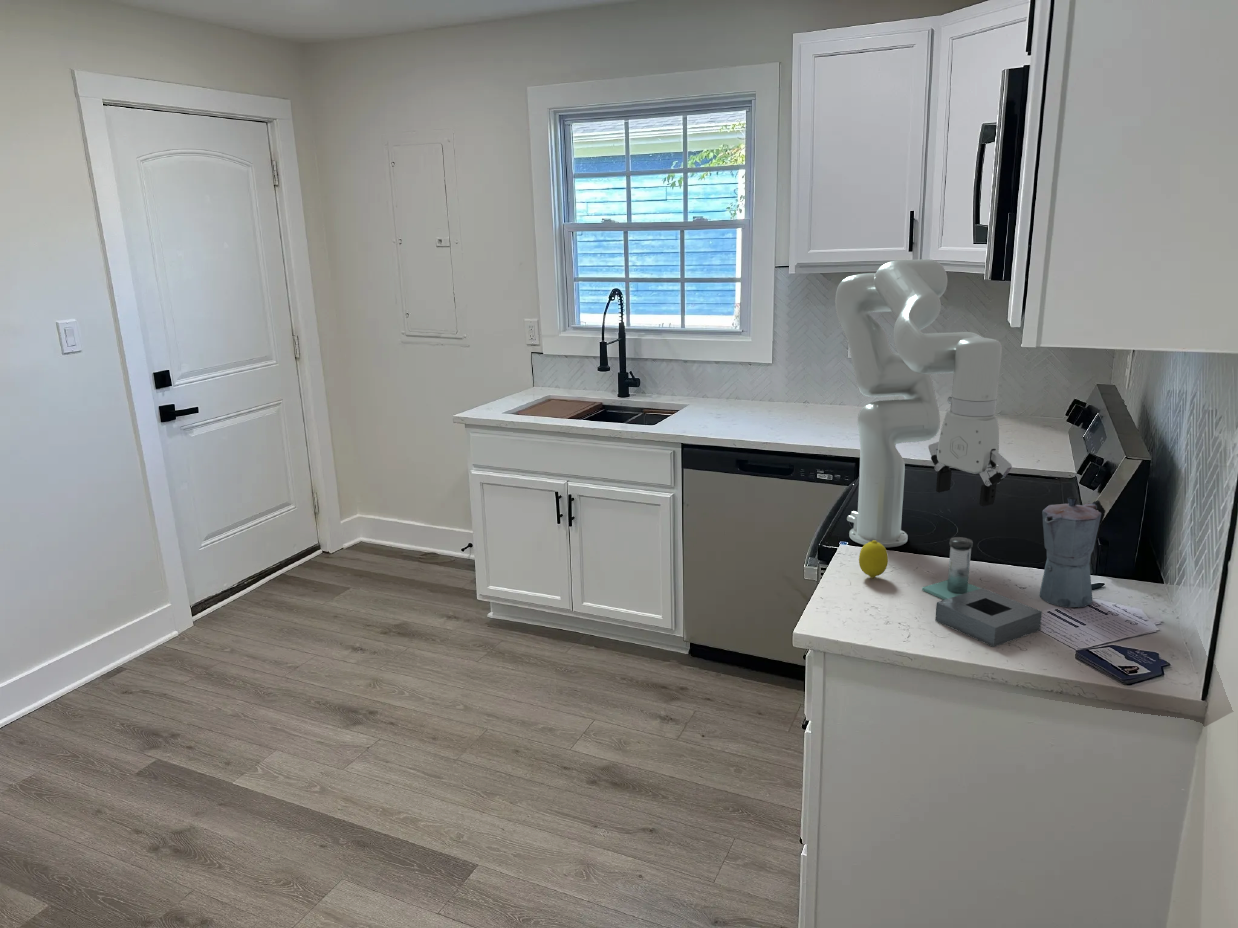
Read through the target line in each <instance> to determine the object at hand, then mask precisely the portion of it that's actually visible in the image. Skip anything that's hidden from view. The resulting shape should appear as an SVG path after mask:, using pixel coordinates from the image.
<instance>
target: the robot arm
mask: <svg viewBox="0 0 1238 928" xmlns="http://www.w3.org/2000/svg"><path fill="white" fill-rule="evenodd" d="M947 286H948V274H947V271H946V269H945V267H944V266H943V265H942V264H941V263H940V262H939V261H937V260H934V259H921V258H920V259H896V260H891V261H888V262H886V263H884V264H883V265H881V266H880V267H879V268H878V269H877V270H876V272H872V273H871V272H870V273H858V274H853V275H850V276H847V277H845V278H844V279H842V281H840V282H839V284H838V285H837V288H836V292H835V298H834V299H835V303H834V304H835V312H836V317H837V319H838V322H839V325H840V327H841V329H842V332H843V333H844V335H845V337H846V340H847V344H848V347H849V348H848V349H849V351H850V352H849V353H850V359H851V364H852V367H853V373H854V376H855V381H856V386H857V388H858V391H859V392H860V394H862V396H865V397H869V398H886V397H903V398H904V399H887V400H886V399H885V400H876V401H872V402H871V401H870V402H869V403H866V404H865V405H864V406H863V407H861V409H860V410H859V412H858V414H857V432H858V437H859V454H860V455H859V480H858V481H859V482H858V497H857V498H858V499H857V501H858V502H857V511H856V510H853V511H851V513H850V515H847V517H846V520H847V522H850V523H853V528H851V529H850V530H849V533H848V534H849V538H850V539H851V540H852V541H853V542H855V543H856V544H859V545H862V546H864V545H865V544H866V543H868V542H872V541H873V540H876V541H877V542H879V543H881V544H882V545H883V546H884V547H885V548H895V547H901V546H903V545H904V544H906V543H907V542H908V534H907V532H906V531H904V530H902V519H903V518H902V517H903V516H902V515H903V501H904V486H905V473H906V472H905V471H906V466H905V465H906V464H905V459H904V457H903V456H902V454H901V453H900V452H899V451H898V449H897V447H896V445H899V444H906V443H920V442H927V441H931V440H932V439H934V438H935V437H937V435H938V434H939V431H940V434H939V439H938V441H936V442H933V443H931V444H928V446H927V447H928V450H929V455H930V460H931V462H932V463H933V465H934V470H935V471H936V472H937V474H936V486H935V491H936V493H942V492H947V491H950V490H951V485H952V483H951V482H952V473H953V472H952V469H956V470H958V471H963V472H966V473H970V474H973V475H974V474H975V475H976V474H979V476H980V477H981V480H982V482H983V483H984V484H981V486H980V493H979V494H980V495H979V502H978V503H979V506H981V507H987V506H991V505H993V504H994V503H995V500H996V494H997V493H996V492H997V485H998V484H1000V483H1001V482H1002V481H1003V480H1005V479H1006V478H1007V475H1008V474H1009V473H1010V472H1011V470H1012V467H1013V465H1012V463H1011V462H1009V461H1008V459H1006V458H1005V457H1003V455H1001V453H999V452H1000V451H999V450H1000V428H999V420H998V417H996V412H997V411H996V409H997V403H998V402H997V400H998V390H999V383H1000V381H999V380H1000V373H1001V372H1000V371H1001V363H1002V362H1001V361H1002V355H1003V347H1002V343H1001V342H1000V341H999V340H998V339H995V338H990V337H984V336H981V335H980V334H978V333H976V332H972V331H958V332H948V331H947V332H929V333H924V332H922V331H921V330H924V329H925V328H927V327H929V326H931V324H933V322H934V321H935V320H937V318H938V317H939V314H940V312H941V308H942V302H941V299H940V298H941V297H942V296H943V295H944V293H945V292H946V289H947ZM885 312H890V313H891V312H892V313H893V314H894V316H895V317H896V321H895V323H894V325H893V326H894V327H893V343H894V347H895V351H896V352H897V353H896V352H893V351H892V350H891V345H890V342H889V336H888V334H887V332H886V330H885V328H884V327H883V326H882V325H881V323H880V322H879V321H878V320H876V319H875V318H874V317H873V316H872V315H871V313H885ZM938 374H953V377H952V378H953V379H952V389H951V396H948V397H947V401H946V402H947V404H950V408H949V409H950V410H948V411H946V413H945V416H944V418H943V422H942V424H941V415H940V410H939V405H938V400H937V395H936V392H935V387H934V382H933V378H932V375H938ZM940 426H941V429H940ZM997 467H998V471H997V470H996V469H997ZM950 468H952V469H950Z"/></svg>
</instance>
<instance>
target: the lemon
mask: <svg viewBox="0 0 1238 928" xmlns="http://www.w3.org/2000/svg"><path fill="white" fill-rule="evenodd" d="M858 563H859V567H860V569H861V571H862V572H863V573H864V574H865V575H867V576H868V577H870V579H874V578H876V577H878V576H880V575H883V573H884V572H886V569H887V567H888V564H889V555H888V550H887V549H886V547H884V546H883V545H882V544H881V543H879V542H877V541H876V540H873V541H872V542H868V543H866V544H865V545H862V547H861V550H860V552H859V555H858Z"/></svg>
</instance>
